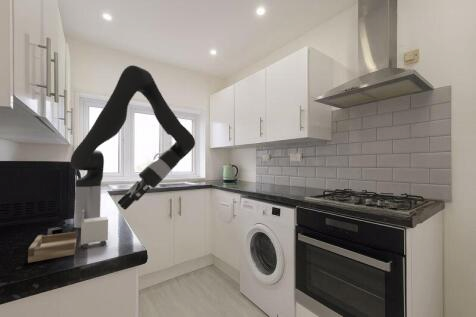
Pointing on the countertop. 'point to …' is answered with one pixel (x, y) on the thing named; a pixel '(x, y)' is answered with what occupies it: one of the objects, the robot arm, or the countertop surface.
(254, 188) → the countertop surface
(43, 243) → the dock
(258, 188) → the countertop surface
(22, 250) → the countertop surface
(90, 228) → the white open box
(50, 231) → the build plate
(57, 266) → the countertop surface
